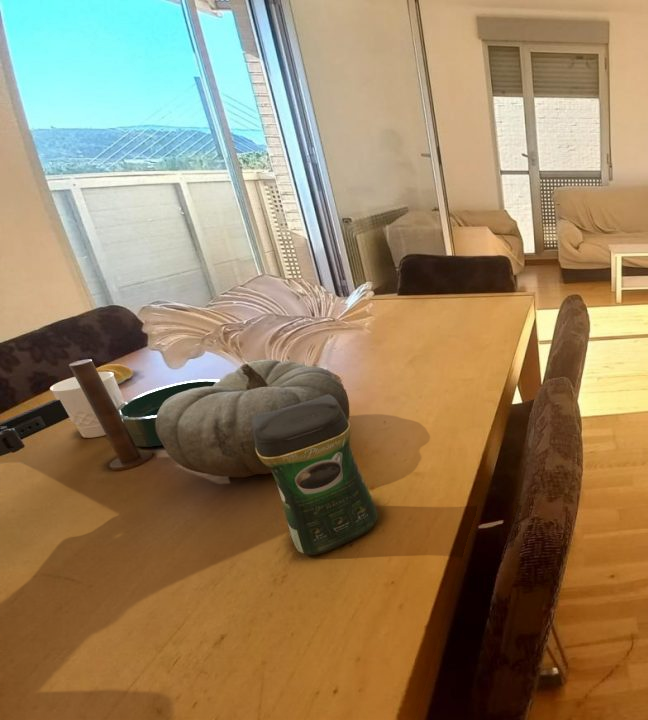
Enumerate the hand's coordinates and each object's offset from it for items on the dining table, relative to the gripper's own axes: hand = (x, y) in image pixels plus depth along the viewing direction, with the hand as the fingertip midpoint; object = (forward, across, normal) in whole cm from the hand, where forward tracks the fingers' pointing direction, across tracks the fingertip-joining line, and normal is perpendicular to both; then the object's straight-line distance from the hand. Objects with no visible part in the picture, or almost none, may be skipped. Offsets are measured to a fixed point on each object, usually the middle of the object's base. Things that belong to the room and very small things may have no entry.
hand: (13, 409), depth 64 cm
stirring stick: (+10, 0, -15) cm, 18 cm away
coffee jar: (-7, +44, -16) cm, 47 cm away
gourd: (+12, +23, -16) cm, 30 cm away
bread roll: (+41, -36, -15) cm, 57 cm away
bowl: (+21, -1, -15) cm, 26 cm away
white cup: (+21, -15, -15) cm, 30 cm away
